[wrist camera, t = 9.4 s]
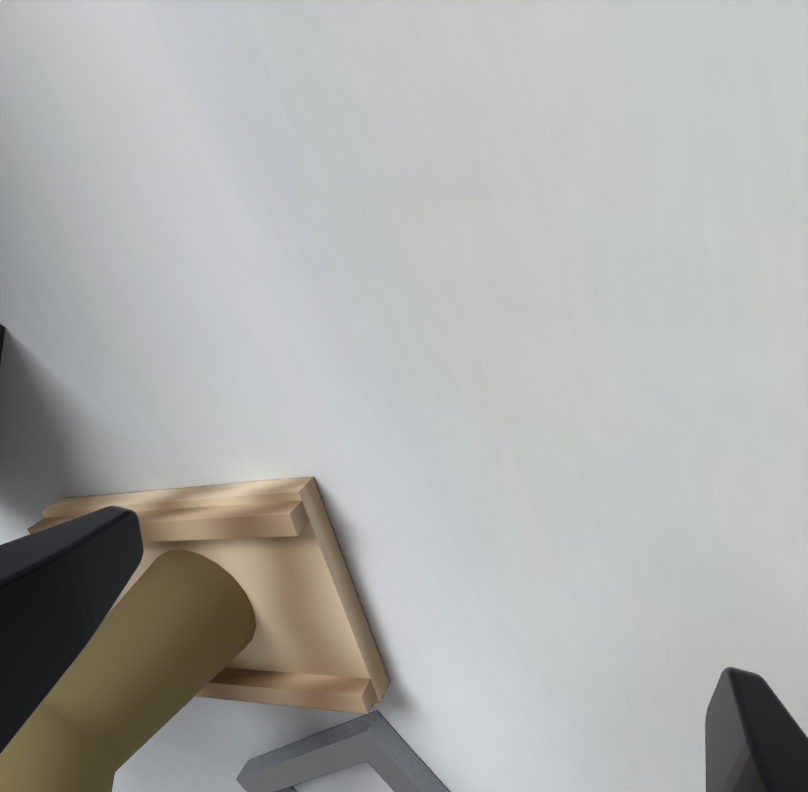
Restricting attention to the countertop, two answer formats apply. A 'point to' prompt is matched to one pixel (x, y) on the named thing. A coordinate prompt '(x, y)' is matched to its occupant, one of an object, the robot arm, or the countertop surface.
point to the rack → (265, 586)
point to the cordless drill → (1, 338)
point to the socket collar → (342, 759)
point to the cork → (131, 676)
